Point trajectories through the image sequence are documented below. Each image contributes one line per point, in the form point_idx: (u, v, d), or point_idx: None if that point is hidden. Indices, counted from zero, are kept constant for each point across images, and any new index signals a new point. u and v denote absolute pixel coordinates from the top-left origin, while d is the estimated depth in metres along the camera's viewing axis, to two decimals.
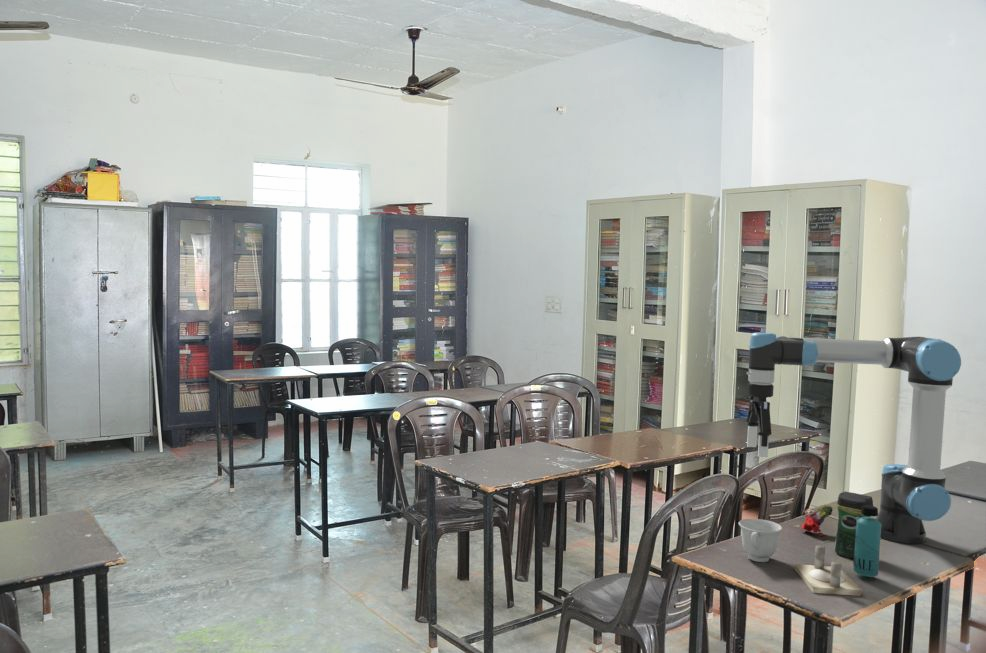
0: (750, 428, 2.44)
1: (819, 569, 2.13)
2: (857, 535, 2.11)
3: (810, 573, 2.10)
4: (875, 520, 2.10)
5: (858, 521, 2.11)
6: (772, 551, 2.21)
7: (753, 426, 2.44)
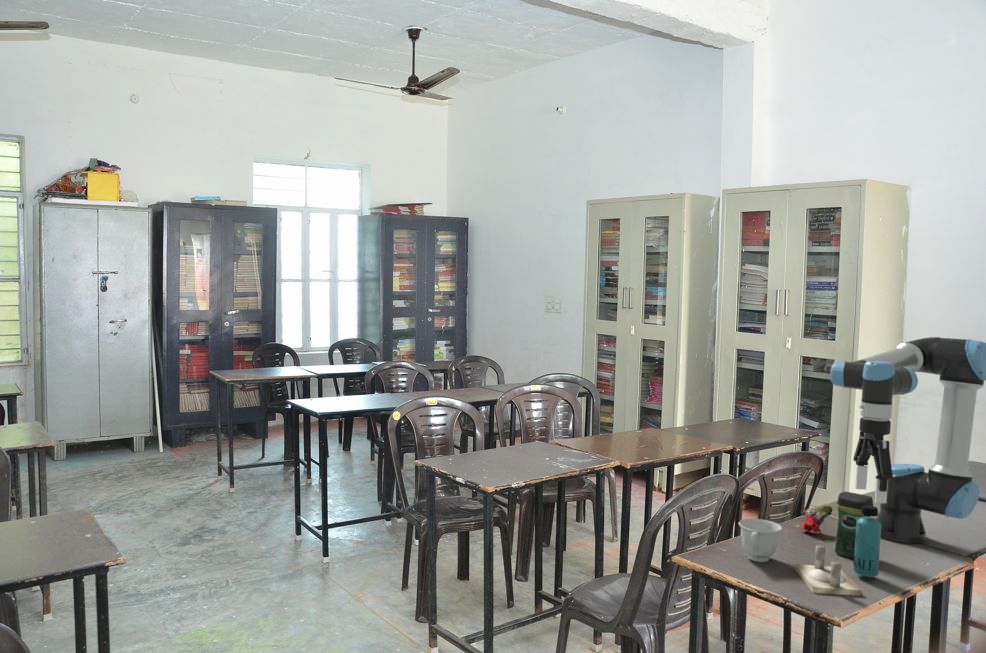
0: (859, 468, 2.17)
1: (819, 569, 2.13)
2: (857, 535, 2.11)
3: (810, 573, 2.10)
4: (875, 520, 2.10)
5: (858, 521, 2.11)
6: (772, 551, 2.21)
7: (863, 466, 2.17)
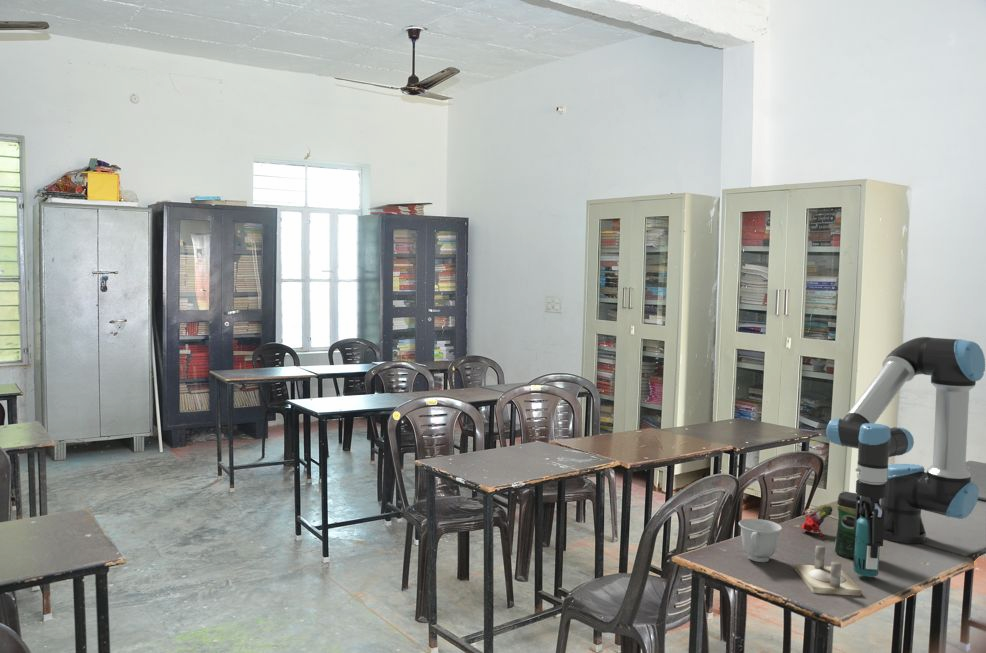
0: None
1: (819, 569, 2.13)
2: (857, 535, 2.11)
3: (810, 573, 2.10)
4: None
5: (858, 521, 2.11)
6: (772, 551, 2.21)
7: None
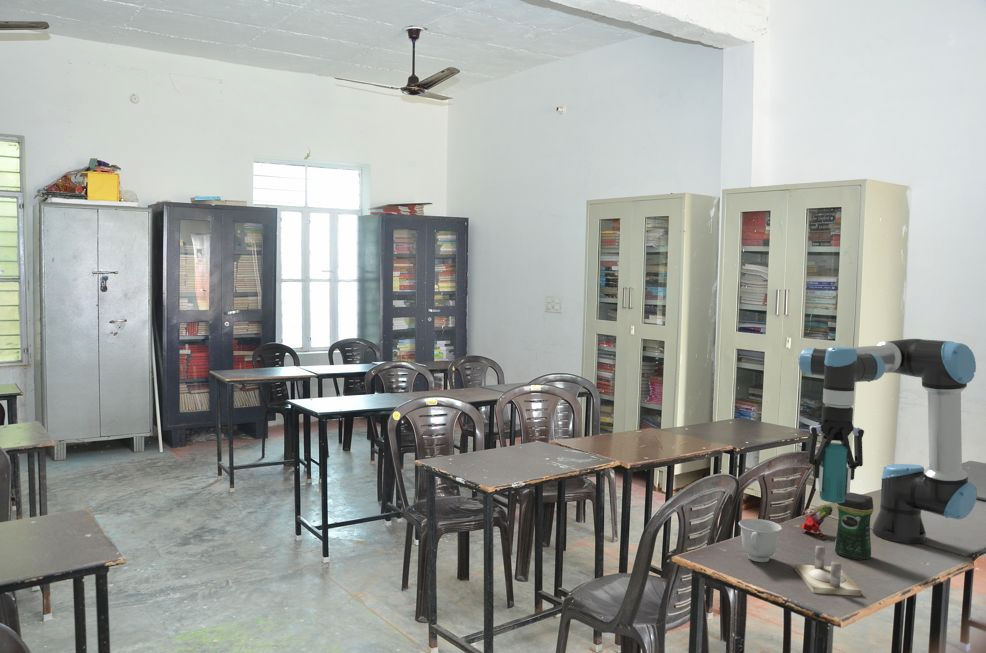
0: None
1: (819, 569, 2.13)
2: None
3: (810, 573, 2.10)
4: (832, 445, 2.05)
5: None
6: (772, 551, 2.21)
7: (848, 467, 2.06)
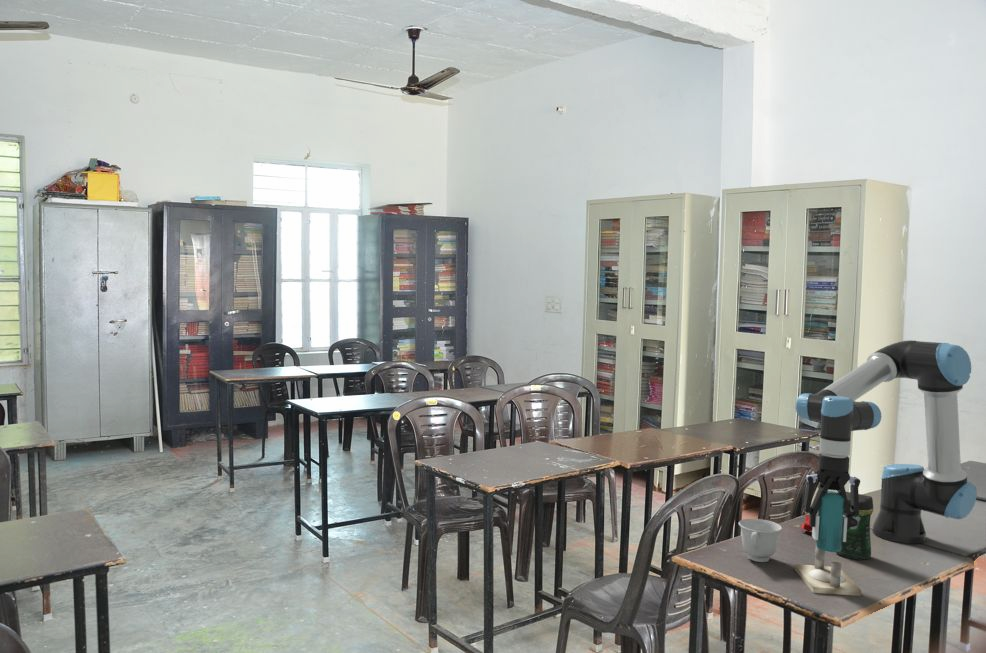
0: None
1: (819, 569, 2.13)
2: None
3: (810, 573, 2.10)
4: (829, 494, 2.06)
5: None
6: (772, 551, 2.21)
7: (844, 516, 2.07)
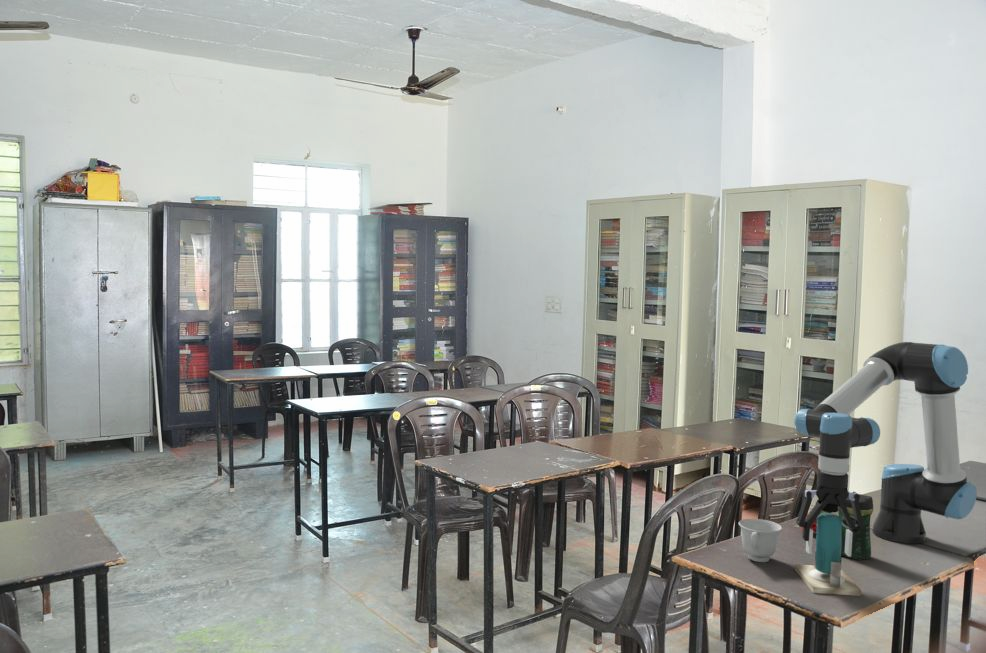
0: (846, 532, 2.08)
1: None
2: None
3: (810, 573, 2.10)
4: (827, 516, 2.06)
5: None
6: (772, 551, 2.21)
7: (849, 531, 2.07)
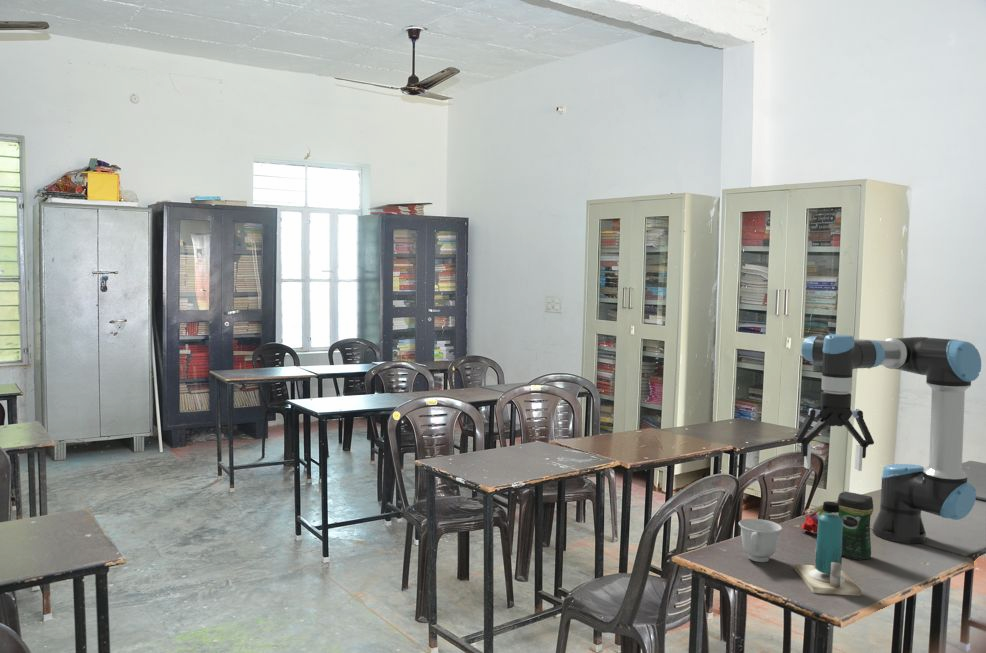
0: (856, 447, 2.11)
1: None
2: None
3: (810, 573, 2.10)
4: (828, 516, 2.06)
5: None
6: (772, 551, 2.21)
7: (859, 446, 2.10)
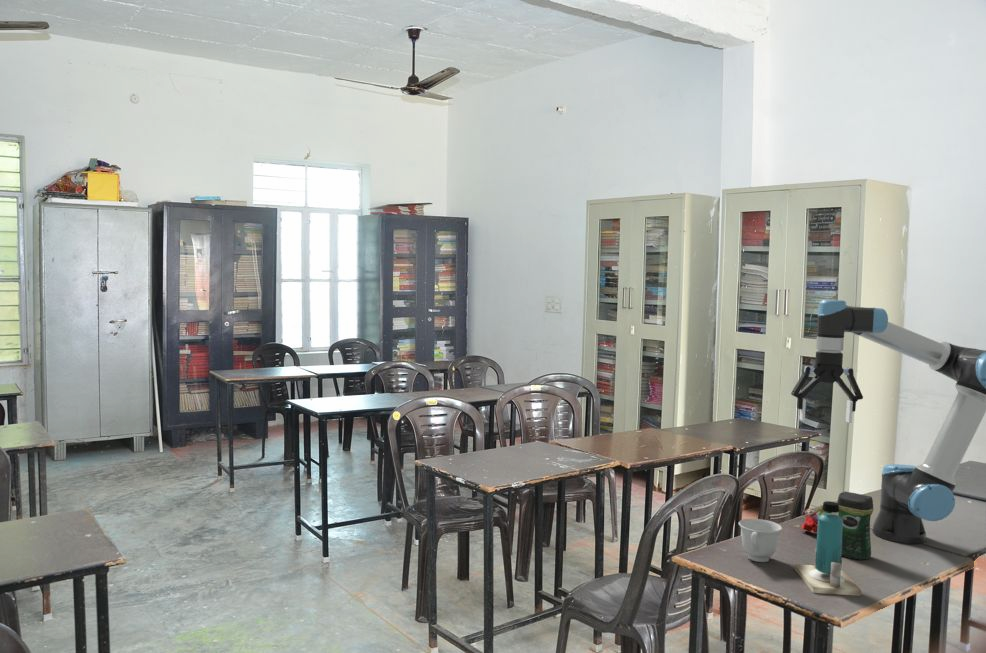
0: (847, 402, 2.34)
1: None
2: None
3: (810, 573, 2.10)
4: (828, 516, 2.06)
5: None
6: (772, 551, 2.21)
7: (850, 400, 2.33)
